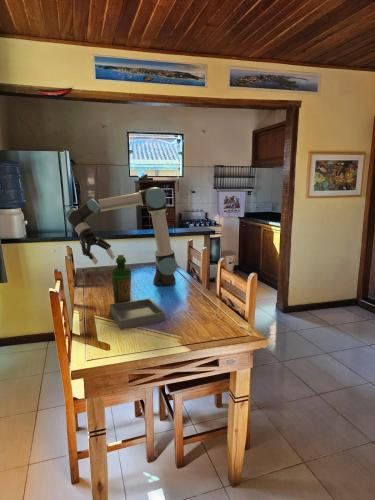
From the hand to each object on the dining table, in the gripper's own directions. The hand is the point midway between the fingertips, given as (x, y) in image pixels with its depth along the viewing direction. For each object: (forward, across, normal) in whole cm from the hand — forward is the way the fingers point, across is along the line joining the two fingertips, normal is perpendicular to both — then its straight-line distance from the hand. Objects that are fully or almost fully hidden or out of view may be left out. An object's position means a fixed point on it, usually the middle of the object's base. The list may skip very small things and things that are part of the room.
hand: (105, 260), depth 179 cm
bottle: (+25, 0, -9) cm, 26 cm away
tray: (+37, +10, +3) cm, 38 cm away
